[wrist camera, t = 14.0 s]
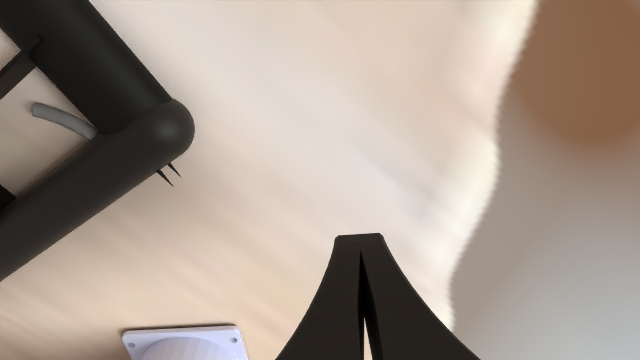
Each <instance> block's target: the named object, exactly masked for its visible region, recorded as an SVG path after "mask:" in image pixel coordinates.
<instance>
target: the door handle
mask: <svg viewBox="0 0 640 360" xmlns="http://www.w3.org/2000/svg"><path fill="white" fill-rule="evenodd" d="M0 28H1V29H2V30H3V31H4V32H5V33H6V34H7V35H8V36H9V38H10V39H11V40H12V41H13V42H14V43H15V44H16V45H17V46H18V47H19V48H20V49H21V51H20V52H19V53H18V54H17V55H16V56H15V57H14V58H13V59H12V60H11V61H10V62H9V63H8V64H7V65H6V66H5V67H4V68H3V69H2V70H1V71H0V100H1V99H2V98H3V97H4V96H5V95H6V94H7V93H8V92H9V91H10V90H11V89H13V88H14V87H15V86H16V85H17V84H18V83H19V82H20V81H21V80H22V79H23V78H24V77H26V76H27V75H28V74H29V73H30V72H31V71H32V70H33V69H34V68H35V67H36V66H37V67H38V68H39V69H40V70H41V71H42V72H43V73H44V74H45V75H46V76H47V77H48V78H49V79H50V80H51V81H52V82H53V83H54V84H55V85H56V86H57V88H58V89H59V90H60V91H61V92H62V93H63V94H64V95H65V96H66V97H67V98H68V99H69V100H70V101H71V102H72V103H73V104H74V105H75V106H76V107H77V108H78V109H79V110H80V111H81V113H82V114H83V115H84V116H85V117H86V118H87V119H88V120H89V121H90V122H91V123H92V124H93V125H94V126H95V127H96V128H97V129H98V130H99V131H100V133H99V132H98V131H97V130H96V129H94V128H93V127H92V126H90V125H89V124H87V123H86V122H84V121H82V120H80V119H79V118H77V117H75V116H73V115H71V114H69V113H66V112H64V111H61V110H59V109H56V108H53V107H50V106H47V105H43V104H40V103H35V104H34V105H33V107H32V115H33V116H34V117H38V118H42V119H45V120H48V121H51V122H54V123H57V124H60V125H62V126H65V127H67V128H69V129H71V130H73V131H75V132H77V133H79V134H80V135H82V136H84V137H85V138H87V139H88V140H89V142H87V143H86V144H85V145H84V146H82V147H81V148H80V149H78V150H77V151H76V152H75V153H73V154H72V155H71V156H70V157H68V158H67V159H66V160H65V161H63V162H62V163H61V164H59V165H58V166H57V167H56V168H54V169H53V170H52V171H51V172H49V173H48V174H47V175H45V176H44V177H43V178H42V179H40V180H39V181H38V182H37V183H35V184H34V185H33V186H31V187H30V188H29V189H28V190H26V191H25V192H24V193H23V194H21V195H20V196H19V197H18V198H17V197H15V196H14V195H13V194H12V193H10V192H9V191H8V190H7V189H5V188H4V187H3V186H2V185H0V281H2V280H3V279H5V278H6V277H8V276H9V275H10V274H12V273H13V272H15V271H16V270H18V269H19V268H20V267H22V266H23V265H25V264H26V263H27V262H29V261H30V260H32V259H33V258H35V257H36V256H37V255H39V254H40V253H42V252H43V251H45V250H46V249H47V248H49V247H50V246H52V245H53V244H55V243H56V242H57V241H59V240H60V239H62V238H63V237H65V236H66V235H67V234H69V233H70V232H72V231H73V230H74V229H76V228H77V227H79V226H80V225H82V224H83V223H84V222H86V221H87V220H89V219H90V218H92V217H93V216H94V215H96V214H97V213H99V212H100V211H102V210H103V209H104V208H106V207H107V206H109V205H110V204H112V203H113V202H114V201H116V200H117V199H119V198H120V197H122V196H123V195H124V194H126V193H127V192H129V191H130V190H131V189H133V188H134V187H136V186H137V185H139V184H140V183H141V182H143V181H144V180H146V179H147V178H149V177H150V176H151V175H153V174H154V173H156V172H157V173H158V174H160V175H161V176H162V177H163V178H164V179H165V180H166V181H167V182H168V183H170V181H169V180H168V179H167V178H166V176H165V175H164V174H163V172H162V171H161V170H160V169H161V168H163V167H164V166H166V165H168V166H169V167H170V168H171V169H173V170H174V171H175V172H176V173H177V174H178V172H177V171H176V170H175V168H174V167H173V166H172V164H171V163H170V162H171V161H173V160H174V159H176V158H177V157H179V156H180V155H181V154H183V153H184V152H185V151H186V150H187V149H188V148H189V146H190V145H191V143H192V141H193V138H194V132H195V127H194V121H193V118H192V116H191V114H190V112H189V111H188V109H187V108H186V107H185V106H184V105H183V104H181V103H180V102H179V101H177V100H175V99H173V98H171V97H170V95H169V94H168V93H167V92H166V91H165V89H164V88H163V87H162V86H161V85H160V84H159V82H158V81H157V80H156V79H155V78H154V77H153V75H152V74H151V73H150V72H149V71H148V70H147V68H146V67H145V66H144V65H143V64H142V63H141V61H140V60H139V59H138V58H137V57H136V56H135V54H134V53H133V52H132V51H131V50H130V48H129V47H128V46H127V45H126V44H125V43H124V41H123V40H122V39H121V38H120V37H119V36H118V34H117V33H116V32H115V31H114V30H113V29H112V27H111V26H110V25H109V24H108V23H107V22H106V20H105V19H104V18H103V17H102V16H101V15H100V13H99V12H98V11H97V10H96V9H95V7H94V6H93V5H92V4H91V3H90V2H89V0H0ZM178 175H179V174H178ZM179 176H180V175H179ZM180 177H181V176H180ZM181 178H182V177H181ZM170 184H171V183H170ZM171 185H172V184H171ZM172 186H173V185H172Z"/></svg>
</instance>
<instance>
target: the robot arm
mask: <svg viewBox="0 0 640 360" xmlns="http://www.w3.org/2000/svg"><path fill="white" fill-rule="evenodd" d="M364 317H365V322H366V328H367V333H368V338H369V344H370V349H371V354H372V360H480V359H479V358H478V357H477V356H476V355H475V354H474V353H473V352H471V351H470V350H469V349H468V348H467V347H466V346H465V345H464V344H463V343H462V342H460V341H459V340H458V339H457V338H456V337H455V335H453V333H452V332H451V331H450V330H449V329H448V328H447V327H446V326H445V325H444V324H443V323H442V322H441V321H440V320H439V319H438V318H437V316H436V315H435V314H434V313H433V312H432V311H431V310H430V308H429V307H428V306H427V305H426V303H425V302H424V301H423V300H422V298H421V297H420V296H419V295H418V293H417V292H416V291H415V289H414V288H413V287H412V285H411V284H410V282H409V281H408V279H407V278H406V276H405V275H404V274H403V272H402V271H401V269H400V267H399V266H398V264H397V263H396V261H395V259H394V258H393V256H392V254H391V252H390V250H389V248H388V246H387V244H386V242H385V240H384V237H383V236H382V235H381V234H380V233H370V234H355V235H339V236H337V237H336V238H335V241H334V247H333V251H332V255H331V258H330V261H329V264H328V267H327V269H326V272H325V274H324V277H323V279H322V282H321V284H320V286H319V288H318V290H317V293H316V295H315V297H314V299H313V301H312V303H311V305H310V307H309V309H308V310H307V312H306V314H305V316H304V317H303V319H302V321H301V323H300V324H299V326H298V327H297V329H296V331H295V332H294V334H293V335H292V337H291V338H290V340H289V341H288V343H287V344H286V346H285V347H284V348H283V350H282V351H281V353H280V354H279V355H278V357H277V358H276V359H275V360H364ZM122 341H123V343H124V345H125V347H126V349H127V351H128V353H129V355H130V357H131V359H132V360H248V356H247V353H246V349H245V346H244V342H243V338H242V335H241V331H240V329H239V328H238V327H236V326H215V327H195V328H175V329H155V330H135V331H126V332H124V334H123V336H122Z"/></svg>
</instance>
